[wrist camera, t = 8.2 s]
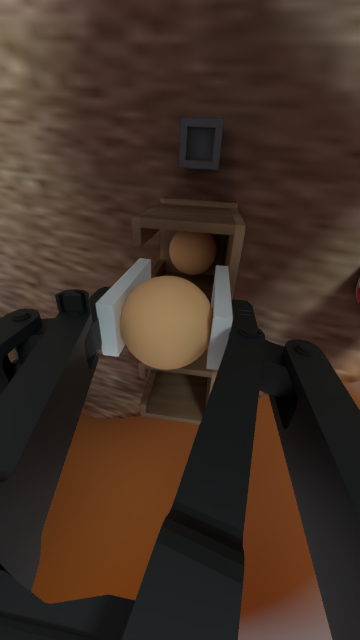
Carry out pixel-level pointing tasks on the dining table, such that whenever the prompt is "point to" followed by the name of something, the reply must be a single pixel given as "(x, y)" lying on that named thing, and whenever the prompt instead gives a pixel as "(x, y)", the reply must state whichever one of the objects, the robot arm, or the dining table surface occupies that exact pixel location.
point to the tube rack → (228, 231)
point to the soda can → (358, 291)
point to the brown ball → (166, 322)
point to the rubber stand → (200, 143)
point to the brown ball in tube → (192, 251)
